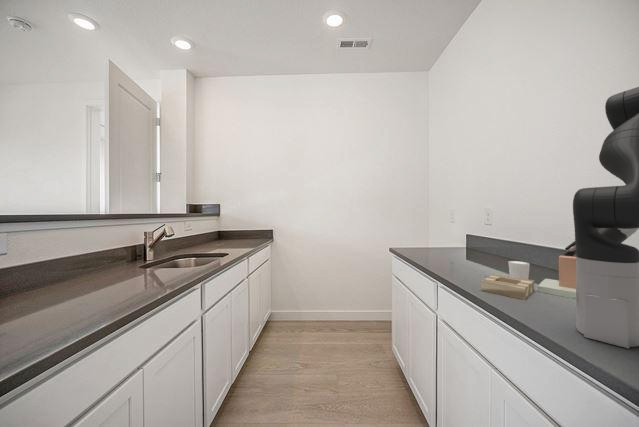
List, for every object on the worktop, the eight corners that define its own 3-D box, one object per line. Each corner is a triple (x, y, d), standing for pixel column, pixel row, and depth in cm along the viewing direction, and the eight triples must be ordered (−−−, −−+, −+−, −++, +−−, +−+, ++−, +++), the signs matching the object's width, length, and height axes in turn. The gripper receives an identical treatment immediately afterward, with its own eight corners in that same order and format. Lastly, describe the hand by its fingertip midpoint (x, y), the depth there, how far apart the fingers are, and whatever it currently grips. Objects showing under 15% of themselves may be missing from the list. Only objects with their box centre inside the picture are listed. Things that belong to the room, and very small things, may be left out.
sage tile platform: (599, 302, 74) (599, 296, 74) (537, 291, 85) (537, 285, 85) (601, 292, 83) (601, 286, 83) (545, 283, 93) (545, 278, 93)
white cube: (534, 281, 96) (534, 264, 96) (516, 282, 96) (516, 264, 96) (520, 277, 103) (520, 260, 103) (504, 277, 103) (503, 260, 103)
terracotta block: (577, 289, 81) (577, 258, 81) (559, 286, 84) (558, 256, 84) (578, 286, 83) (578, 257, 83) (560, 283, 87) (560, 255, 87)
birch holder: (524, 299, 77) (524, 288, 77) (481, 290, 86) (481, 280, 86) (534, 290, 86) (534, 280, 86) (494, 283, 95) (493, 274, 95)
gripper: (586, 221, 88) (547, 252, 91) (622, 223, 74) (576, 259, 77) (605, 236, 86) (565, 267, 90) (646, 241, 73) (597, 277, 76)
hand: (570, 263), depth 83 cm, fingers open, 8 cm apart
